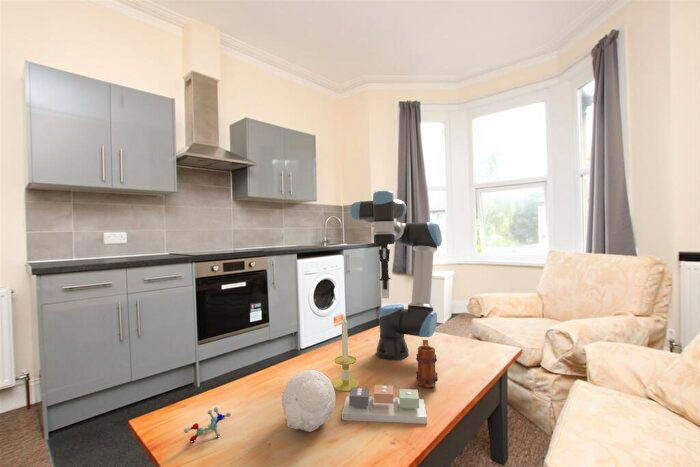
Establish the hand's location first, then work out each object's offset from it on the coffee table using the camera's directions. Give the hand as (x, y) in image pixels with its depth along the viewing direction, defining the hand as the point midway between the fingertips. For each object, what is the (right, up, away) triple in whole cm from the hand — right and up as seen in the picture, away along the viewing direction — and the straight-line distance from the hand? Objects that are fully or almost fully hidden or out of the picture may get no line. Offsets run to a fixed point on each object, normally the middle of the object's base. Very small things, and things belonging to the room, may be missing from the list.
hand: (385, 297), depth 121 cm
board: (-2, -34, -14) cm, 37 cm away
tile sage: (+6, -31, -15) cm, 35 cm away
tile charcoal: (-10, -31, -13) cm, 35 cm away
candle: (-15, -35, +6) cm, 38 cm away
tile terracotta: (-2, -30, -14) cm, 33 cm away
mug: (+17, -34, +7) cm, 39 cm away
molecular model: (-54, -36, -25) cm, 69 cm away
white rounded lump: (-25, -35, -20) cm, 47 cm away
